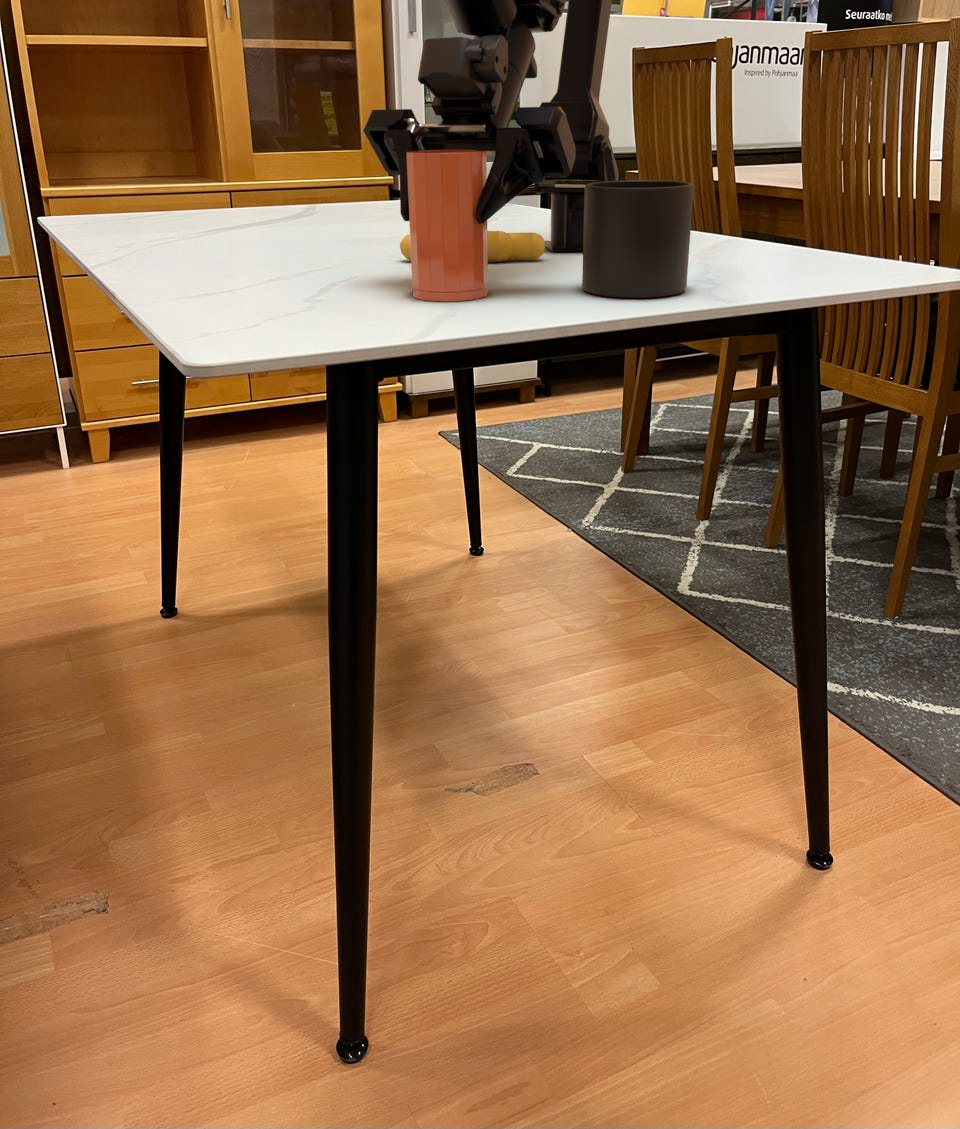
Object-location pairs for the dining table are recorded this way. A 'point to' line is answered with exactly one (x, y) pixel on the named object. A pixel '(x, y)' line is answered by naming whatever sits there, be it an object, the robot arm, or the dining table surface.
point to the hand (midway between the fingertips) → (440, 219)
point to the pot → (447, 224)
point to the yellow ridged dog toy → (501, 246)
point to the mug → (636, 238)
